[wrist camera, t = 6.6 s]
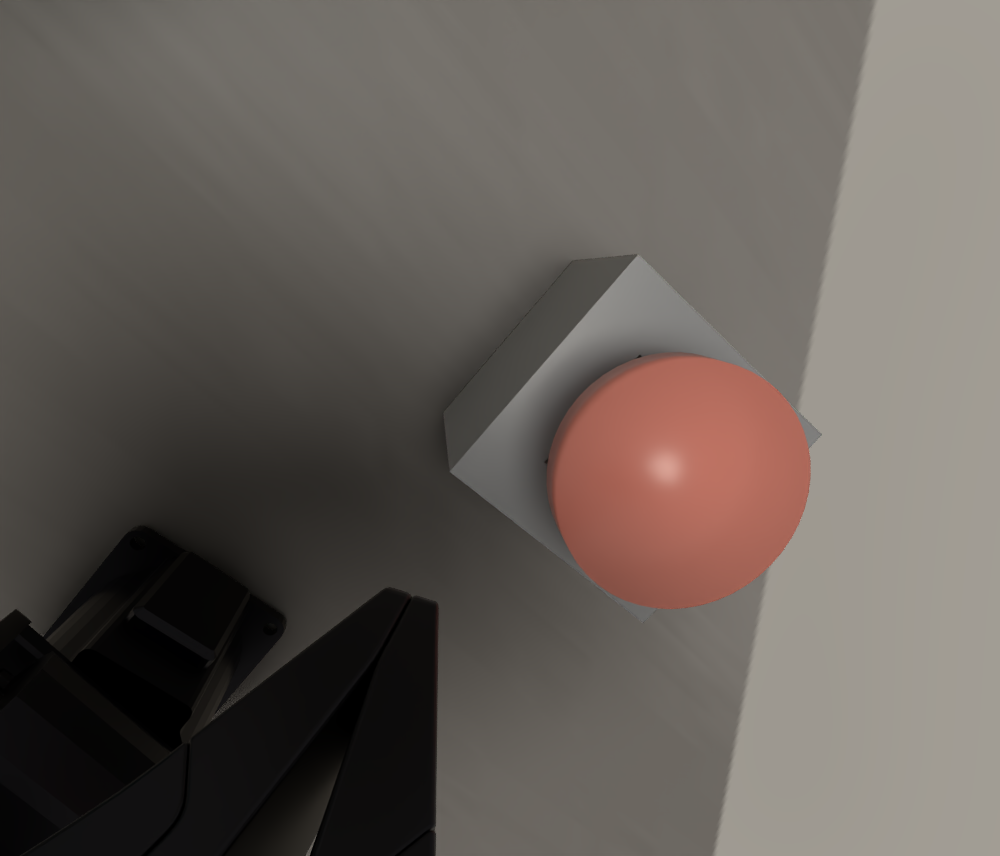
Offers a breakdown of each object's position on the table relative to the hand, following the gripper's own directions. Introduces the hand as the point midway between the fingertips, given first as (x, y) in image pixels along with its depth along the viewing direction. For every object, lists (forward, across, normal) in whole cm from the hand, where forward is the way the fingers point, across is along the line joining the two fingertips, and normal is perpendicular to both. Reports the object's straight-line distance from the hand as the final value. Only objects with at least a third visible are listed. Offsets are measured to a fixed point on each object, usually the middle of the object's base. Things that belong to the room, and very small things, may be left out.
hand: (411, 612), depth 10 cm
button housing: (+14, -2, +3) cm, 14 cm away
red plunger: (+12, -2, +2) cm, 12 cm away
